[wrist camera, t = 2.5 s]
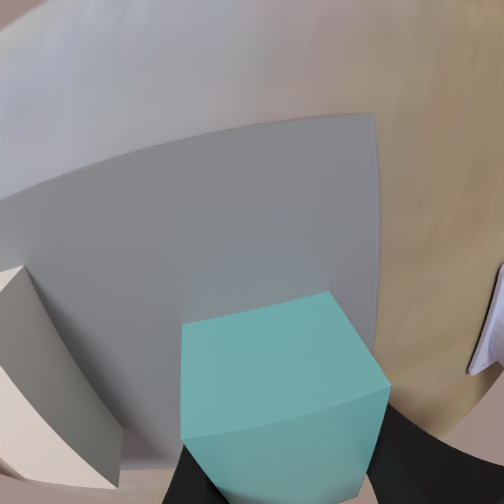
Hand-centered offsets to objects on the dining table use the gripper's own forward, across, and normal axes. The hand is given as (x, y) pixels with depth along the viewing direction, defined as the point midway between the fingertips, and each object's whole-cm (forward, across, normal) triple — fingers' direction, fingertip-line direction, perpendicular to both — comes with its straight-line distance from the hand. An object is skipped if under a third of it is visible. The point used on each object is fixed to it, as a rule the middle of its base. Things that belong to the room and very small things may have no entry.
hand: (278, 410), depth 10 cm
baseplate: (+2, +5, -2) cm, 6 cm away
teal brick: (+1, 0, 0) cm, 1 cm away
